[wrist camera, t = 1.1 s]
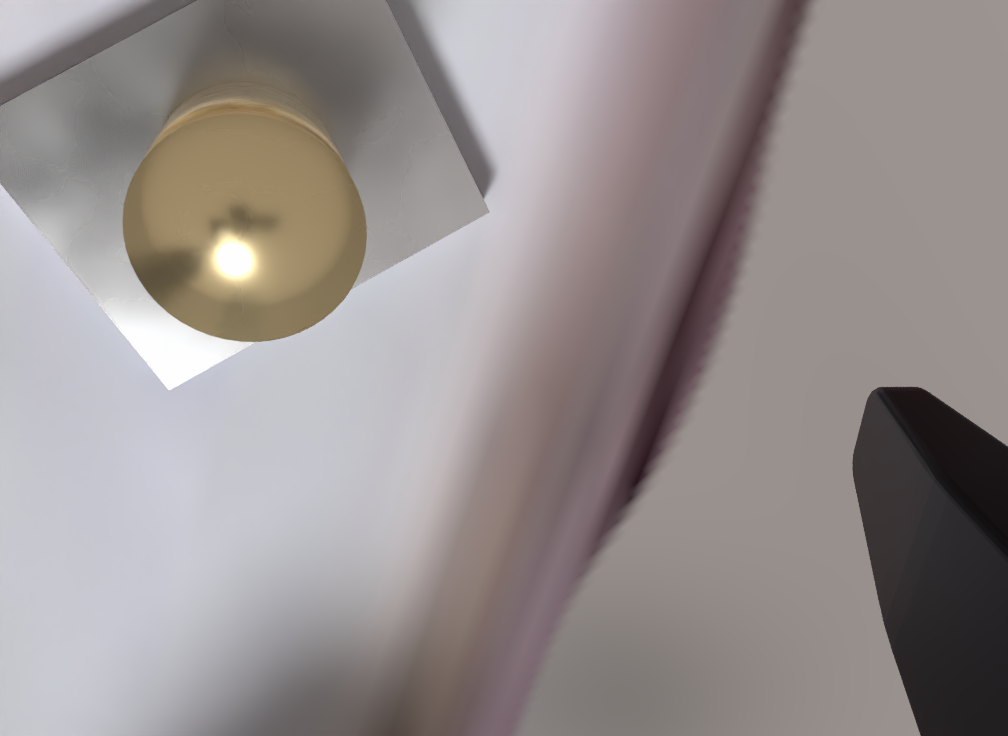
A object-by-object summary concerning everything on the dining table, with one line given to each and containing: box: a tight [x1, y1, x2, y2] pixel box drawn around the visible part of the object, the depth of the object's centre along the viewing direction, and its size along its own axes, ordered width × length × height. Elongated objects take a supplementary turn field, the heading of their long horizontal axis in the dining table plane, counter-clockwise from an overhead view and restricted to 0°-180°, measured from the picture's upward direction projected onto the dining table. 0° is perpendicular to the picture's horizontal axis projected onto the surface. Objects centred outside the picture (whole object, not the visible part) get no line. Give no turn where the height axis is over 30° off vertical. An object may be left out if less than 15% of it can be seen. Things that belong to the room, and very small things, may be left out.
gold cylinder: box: [122, 81, 367, 342], centre depth 16 cm, size 4×4×5 cm
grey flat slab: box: [0, 0, 489, 390], centre depth 19 cm, size 9×7×1 cm
